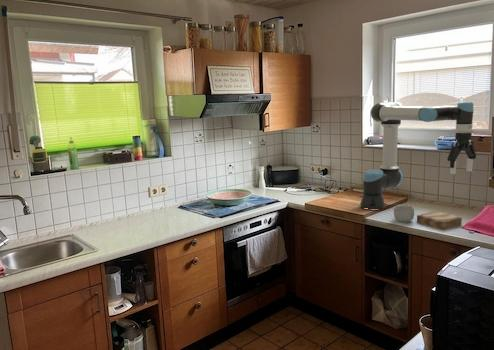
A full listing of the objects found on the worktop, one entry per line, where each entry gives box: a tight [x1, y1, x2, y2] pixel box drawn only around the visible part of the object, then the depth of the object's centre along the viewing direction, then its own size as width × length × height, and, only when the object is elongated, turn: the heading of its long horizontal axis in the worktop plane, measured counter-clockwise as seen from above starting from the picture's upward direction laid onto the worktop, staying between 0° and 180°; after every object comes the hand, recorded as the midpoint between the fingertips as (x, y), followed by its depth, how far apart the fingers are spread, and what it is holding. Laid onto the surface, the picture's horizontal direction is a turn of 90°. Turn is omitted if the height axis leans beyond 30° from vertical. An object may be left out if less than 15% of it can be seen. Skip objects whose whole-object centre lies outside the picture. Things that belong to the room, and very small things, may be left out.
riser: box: [416, 210, 463, 231], centre depth 224 cm, size 16×15×4 cm
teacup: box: [393, 204, 415, 223], centre depth 232 cm, size 14×11×8 cm
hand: (461, 172), depth 219 cm, fingers open, 13 cm apart
